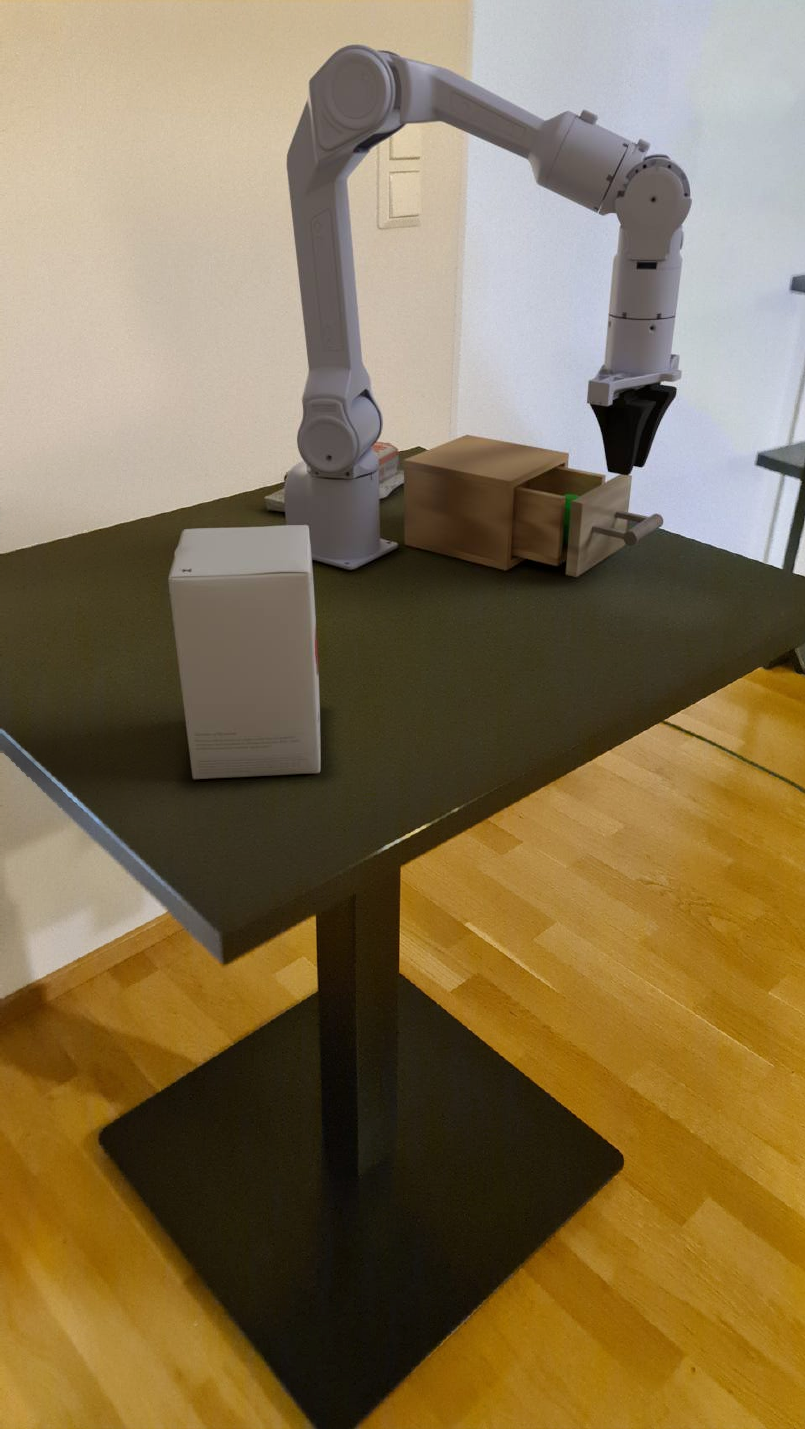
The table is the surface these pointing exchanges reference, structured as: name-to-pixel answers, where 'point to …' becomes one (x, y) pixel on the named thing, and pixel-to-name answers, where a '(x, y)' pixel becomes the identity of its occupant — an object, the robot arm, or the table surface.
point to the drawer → (575, 518)
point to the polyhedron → (567, 517)
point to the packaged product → (387, 476)
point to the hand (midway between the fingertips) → (626, 469)
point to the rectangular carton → (247, 650)
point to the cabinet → (470, 497)
